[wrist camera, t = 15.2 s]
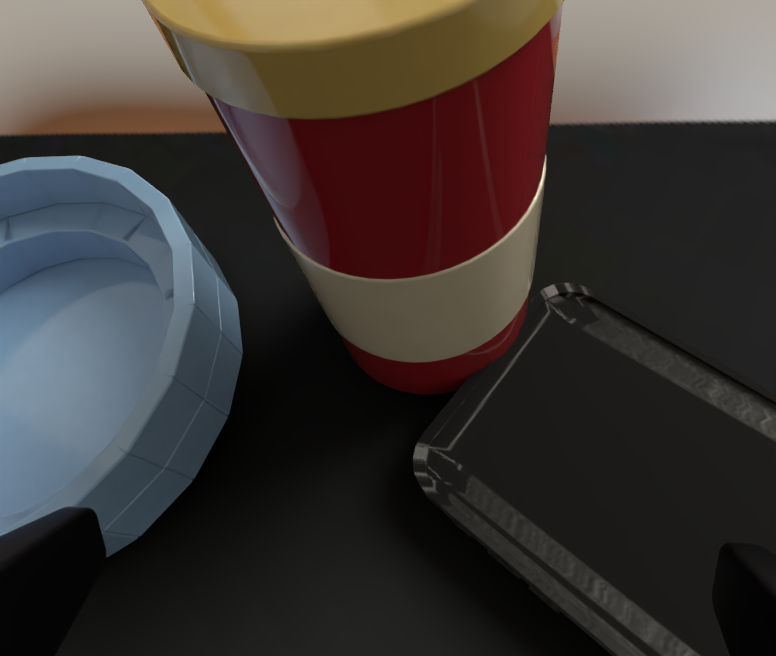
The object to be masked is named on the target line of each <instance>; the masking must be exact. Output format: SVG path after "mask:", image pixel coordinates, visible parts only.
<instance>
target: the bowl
mask: <svg viewBox="0 0 776 656" xmlns="http://www.w3.org/2000/svg"><path fill="white" fill-rule="evenodd" d="M242 354H243V350H242V341H241V331H240V322H239V312H238V303H237V301H236V298H235V296H234V294H233V292H232V290H231V288H230V286H229V285H228V283H227V281H226V279H225V277H224V275H223V273H222V271H221V269H220V268H219V266H218V264H217V262H216V260H215V259H214V258H213V256H212V255H211V254H210V253H209V251H208V250H207V249H206V247H205V246H204V245H203V243H202V242H201V241H200V240H199V238H198V237H197V236H196V235H195V233H194V232H193V230H192V229H191V228H190V226H189V225H188V224H187V222H186V221H185V220H184V218H183V217H182V216H181V215H180V213H179V212H178V211H177V209H176V208H175V207H174V205H173V204H172V203H171V202H170V200H169V199H168V198H167V197H166V196H165V195H163V194H162V193H161V192H159V191H158V190H157V189H156V188H154V187H153V186H152V185H150V184H149V183H148V182H146V181H145V180H144V179H142V178H141V177H140V176H139V175H137V174H136V173H135V172H133V171H132V170H130V169H128V168H124V167H121V166H117V165H113V164H110V163H106V162H102V161H99V160H95V159H91V158H88V157H84V156H57V157H29V158H22V159H19V160H15V161H11V162H8V163H4V164H1V165H0V536H1V535H4V534H6V533H8V532H10V531H12V530H15V529H17V528H19V527H21V526H23V525H26V524H28V523H30V522H32V521H34V520H37V519H39V518H41V517H43V516H45V515H48V514H50V513H52V512H54V511H56V510H59V509H61V508H63V507H69V506H73V507H88V508H91V509H93V510H94V511H95V513H96V514H97V517H98V521H99V524H100V528H101V532H102V536H103V539H104V543H105V547H106V558H107V557H109V556H110V555H112V554H114V553H115V552H117V551H118V550H120V549H122V548H123V547H125V546H127V545H128V544H130V543H131V542H133V541H135V540H136V539H138V537H140V536H141V535H142V534H143V533H144V532H145V531H146V530H147V529H148V528H149V527H150V526H151V525H152V524H153V523H154V522H155V521H156V520H157V519H158V517H159V516H160V515H161V514H162V513H163V512H164V511H165V510H166V509H167V508H168V507H169V506H170V505H171V504H172V503H173V502H174V501H175V500H176V499H177V497H178V496H179V495H180V494H181V493H182V492H183V491H184V490H185V489H186V488H187V487H188V486H189V485H190V484H191V483H192V481H193V480H192V479H194V478H195V477H196V475H197V473H198V472H199V470H200V468H201V466H202V464H203V462H204V461H205V459H206V457H207V455H208V453H209V452H210V450H211V448H212V446H213V444H214V442H215V441H216V439H217V437H218V435H219V433H220V431H221V430H222V428H223V426H224V424H225V422H226V421H227V419H228V415H229V413H230V409H231V404H232V400H233V396H234V391H235V387H236V382H237V378H238V374H239V369H240V365H241V360H242Z"/></svg>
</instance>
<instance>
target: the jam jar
mask: <svg viewBox="0 0 776 656" xmlns="http://www.w3.org/2000/svg"><path fill="white" fill-rule="evenodd" d="M142 1H143V3H144V5H145V6H146V8H147V10H148V12H149V14H150V15H151V17H152V19H153V20H154V22H155V24H156V26H157V27H158V29H159V31H160V33H161V34H162V36H163V38H164V40H165V41H166V43H167V45H168V47H169V48H170V50H171V52H172V54H173V55H174V57H175V59H176V61H177V62H178V64H179V66H180V68H181V69H182V71H183V72H184V73H185V74H186V75H187V77H189V79H190V80H191V81H192V82H193V83H194V84H195V85H196V86H198V87H199V88H201V89H202V90H203V91H205V93H206V95H207V96H208V98H209V100H210V102H211V104H212V105H213V107H214V109H215V111H216V113H217V115H218V116H219V118H220V120H221V122H222V124H223V126H224V127H225V129H226V131H227V133H228V135H229V136H230V138H231V140H232V142H233V144H234V145H235V147H236V149H237V151H238V153H239V154H240V156H241V158H242V160H243V162H244V164H245V165H246V167H247V169H248V171H249V173H250V174H251V176H252V178H253V180H254V182H255V183H256V185H257V187H258V189H259V191H260V192H261V194H262V196H263V198H264V200H265V201H266V203H267V205H268V207H269V209H270V211H271V212H272V215H273V217H274V220H275V223H276V226H277V228H278V230H279V231H280V233H281V235H282V237H283V239H284V240H285V242H286V244H287V246H288V247H289V249H290V251H291V253H292V255H293V256H294V258H295V260H296V262H297V264H298V265H299V267H300V269H301V271H302V272H303V274H304V276H305V278H306V280H307V281H308V283H309V285H310V287H311V289H312V290H313V292H314V294H315V296H316V297H317V299H318V301H319V303H320V305H321V306H322V308H323V310H324V312H325V313H326V315H327V317H328V319H329V320H330V322H331V323H332V324H333V326H334V327H335V328H336V330H337V332H338V333H339V335H340V337H341V339H342V341H343V342H344V344H345V346H346V348H347V350H348V351H349V353H350V355H351V357H352V358H353V359H354V361H355V362H356V363H357V364H358V366H359V367H360V368H361V369H362V370H363V371H365V372H366V373H367V374H368V375H369V376H371V377H372V378H374V379H375V380H376V381H378V382H380V383H382V384H384V385H386V386H388V387H391V388H393V389H396V390H399V391H403V392H408V393H413V394H424V395H428V394H442V393H448V392H454V391H457V390H459V388H460V387H461V386H462V385H463V384H464V382H465V381H466V380H467V379H468V377H469V376H470V375H471V374H472V373H474V372H477V371H478V370H480V369H482V368H484V367H485V366H487V365H489V364H490V363H491V362H493V361H494V360H495V359H496V358H498V359H499V358H500V357H501V356H502V355H503V354H504V353H505V352H506V351H507V350H508V349H509V347H510V346H511V345H512V343H513V342H514V341H515V339H516V338H517V336H518V334H519V330H520V329H521V327H522V324H523V322H524V319H525V316H526V313H527V308H528V302H529V294H530V287H531V284H532V279H533V274H534V267H535V259H536V251H537V242H538V234H539V226H540V218H541V209H542V201H543V193H544V185H545V176H546V147H547V138H548V129H549V121H550V112H551V103H552V95H553V86H554V77H555V69H556V60H557V52H558V43H559V34H560V26H561V17H562V8H563V1H564V0H142ZM498 359H497V360H498Z"/></svg>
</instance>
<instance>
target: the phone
mask: <svg viewBox="0 0 776 656" xmlns="http://www.w3.org/2000/svg"><path fill="white" fill-rule="evenodd" d="M497 359H498V358H496V359H495V360H494V361H493V362H491V363H490V364H489V365H487V366H485V367H484V368H482V369H480V370H478V371H477V372H474V373H472V374H471V375H470V376H469V377H468V379H467V380H466V381H465V382H464V384H463V385H462V386H461V387H460V388H459V390H458V391H457V392H456V393H455V395H454V396H453V397H452V398H451V399H450V401H449V402H448V403H447V404H446V406H445V407H444V408H443V409H442V410H441V412H440V413H439V414H438V415H437V417H436V418H435V419H434V420H433V421H432V423H431V424H430V425H429V426H428V428H427V429H426V430H425V431H424V432H423V434H422V435H421V437H420V439H419V440H418V442H417V444H416V446H415V450H414V455H413V468H414V473H415V476H416V478H417V480H418V483H419V485H420V487H421V489H422V491H423V493H424V494H425V495H426V496H427V497H428V498H429V500H430V501H431V502H432V503H433V504H435V505H436V506H437V507H438V508H439V509H440V510H442V511H443V512H444V513H445V514H446V515H448V516H449V517H450V518H451V519H452V520H453V523H454V524H456V525H457V526H458V527H459V528H460V529H461V530H463V531H464V532H465V533H466V534H467V535H468V536H470V537H471V536H472V537H473V538H475V539H476V540H477V541H478V542H479V543H481V544H482V545H483V546H484V547H485V548H486V549H488V550H489V551H488V553H489V554H490V555H491V556H492V557H493V558H494V559H496V560H497V561H498V562H499V563H500V564H502V565H503V566H504V567H505V568H506V569H507V570H509V571H510V572H511V573H512V574H513V575H514V576H516V577H517V578H518V579H520V578H522V579H523V580H524V581H525V582H526V583H528V584H529V585H530V586H529V587H528V588H529V589H530V590H531V591H532V592H533V593H534V594H536V595H537V596H538V597H539V598H540V599H541V600H543V601H544V602H545V603H546V604H547V605H548V606H550V607H551V608H552V609H553V610H554V611H556V612H557V613H558V614H559V613H560V611H561V612H562V613H563V614H564V615H565V616H566V617H568V618H569V619H570V620H571V621H572V622H574V623H575V624H576V625H577V626H578V627H579V628H581V629H582V630H583V631H584V632H585V633H586V634H588V635H589V636H590V637H591V638H592V639H594V640H595V641H596V642H597V643H598V644H599V645H601V646H602V647H603V648H604V649H605V650H606V651H608V652H609V653H610V654H611V655H612V656H730V655H729V652H728V649H727V647H726V644H725V641H724V638H723V635H722V632H721V629H720V627H719V624H718V621H717V618H716V615H715V612H714V608H713V604H712V588H713V583H714V577H715V572H716V566H717V561H718V555H719V551H720V548H721V547H722V545H723V544H725V543H728V542H732V543H751V544H758V545H761V546H762V547H764V548H766V549H768V550H769V551H771V552H772V553H774V554H775V555H776V394H774V393H772V392H770V391H769V390H767V389H765V388H763V387H762V386H760V385H758V384H756V383H755V382H753V381H751V380H749V379H748V378H746V377H744V376H742V375H741V374H739V373H737V372H735V371H733V370H732V369H730V368H728V367H726V366H725V365H723V364H721V363H719V362H718V361H716V360H714V359H712V358H711V357H709V356H707V355H705V354H704V353H702V352H700V351H698V350H697V349H695V348H693V347H691V346H690V345H688V344H686V343H684V342H682V341H681V340H679V339H677V338H675V337H674V336H672V335H670V334H668V333H667V332H665V331H663V330H661V329H660V328H658V327H656V326H654V325H653V324H651V323H649V322H647V321H646V320H644V319H642V318H640V317H638V316H637V315H635V314H633V313H631V312H630V311H628V310H626V309H624V308H623V307H621V306H619V305H617V304H616V303H614V302H612V301H610V300H609V299H607V298H605V297H603V296H602V295H600V294H598V293H596V292H594V291H593V290H591V289H589V288H586V287H584V286H581V285H579V284H572V283H560V284H554V285H551V286H549V287H547V288H544V289H543V290H542V291H540V292H539V293H538V294H537V295H536V296H535V297H534V298H533V299H532V300H531V302H530V303H529V304H528V308H527V313H526V316H525V319H524V322H523V324H522V327H521V329H520V330H519V334H518V336H517V338H516V339H515V341H514V342H513V343H512V345H511V346H510V347H509V349H508V350H507V351H506V352H505V353H504V354H503V355H502V356H501V357H500V358H499V359H498V360H497Z"/></svg>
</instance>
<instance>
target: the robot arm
mask: <svg viewBox="0 0 776 656" xmlns="http://www.w3.org/2000/svg"><path fill="white" fill-rule="evenodd" d="M105 560H106V547H105V543H104V539H103V536H102V532H101V528H100V524H99V521H98V517H97V514H96V513H95V511H94V510H93V509H91V508H88V507H73V506H69V507H63V508H61V509H59V510H56V511H54V512H52V513H50V514H48V515H45V516H43V517H41V518H39V519H37V520H34V521H32V522H30V523H28V524H26V525H23V526H21V527H19V528H17V529H15V530H12V531H10V532H8V533H6V534H4V535H1V536H0V656H55V654H56V652H57V651H58V649H59V647H60V645H61V643H62V642H63V640H64V638H65V636H66V634H67V633H68V631H69V629H70V627H71V625H72V623H73V622H74V620H75V618H76V616H77V614H78V612H79V611H80V609H81V607H82V605H83V603H84V601H85V600H86V598H87V596H88V594H89V592H90V591H91V589H92V587H93V585H94V583H95V581H96V580H97V578H98V576H99V574H100V572H101V570H102V568H103V566H104V563H105ZM712 604H713V608H714V612H715V615H716V618H717V621H718V624H719V627H720V629H721V632H722V635H723V638H724V641H725V644H726V647H727V649H728V652H729V655H730V656H776V555H775V554H774V553H772V552H771V551H769V550H768V549H766V548H764V547H762V546H761V545H758V544H751V543H732V542H728V543H725V544H723V545H722V547H721V548H720V551H719V555H718V561H717V566H716V572H715V577H714V583H713V588H712Z"/></svg>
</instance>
